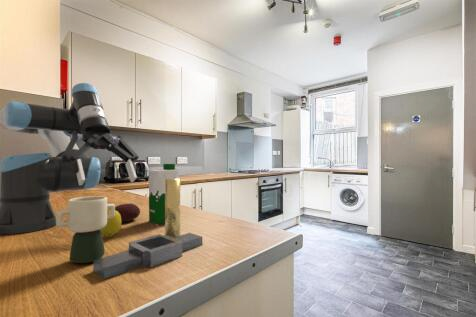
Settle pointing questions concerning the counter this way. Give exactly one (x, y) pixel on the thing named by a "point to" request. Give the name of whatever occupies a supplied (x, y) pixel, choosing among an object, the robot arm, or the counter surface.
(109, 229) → the lemon
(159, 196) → the milk carton
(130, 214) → the potato
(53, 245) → the counter surface
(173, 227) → the link pin
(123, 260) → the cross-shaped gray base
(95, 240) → the character mug
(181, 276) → the counter surface
